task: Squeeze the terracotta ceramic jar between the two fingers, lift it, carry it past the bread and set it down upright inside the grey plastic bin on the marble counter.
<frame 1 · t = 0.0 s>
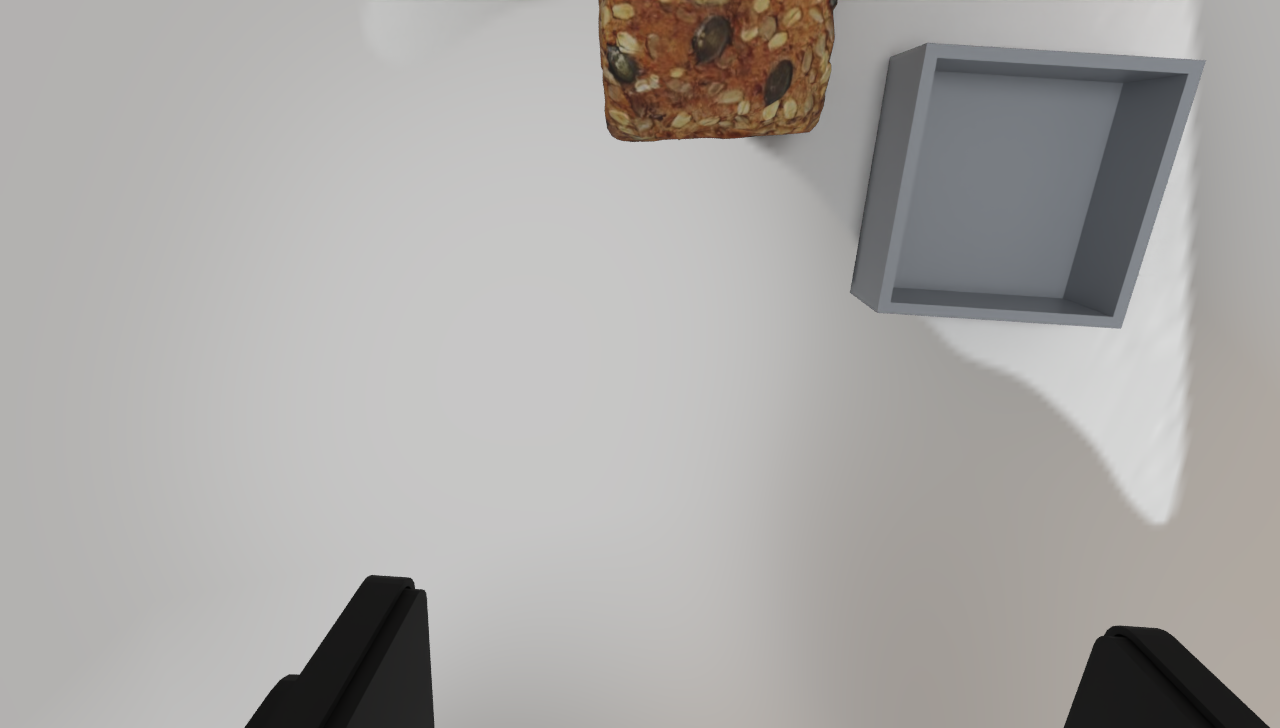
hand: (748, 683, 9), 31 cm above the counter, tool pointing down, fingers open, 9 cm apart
bin: (982, 189, 36), on the counter
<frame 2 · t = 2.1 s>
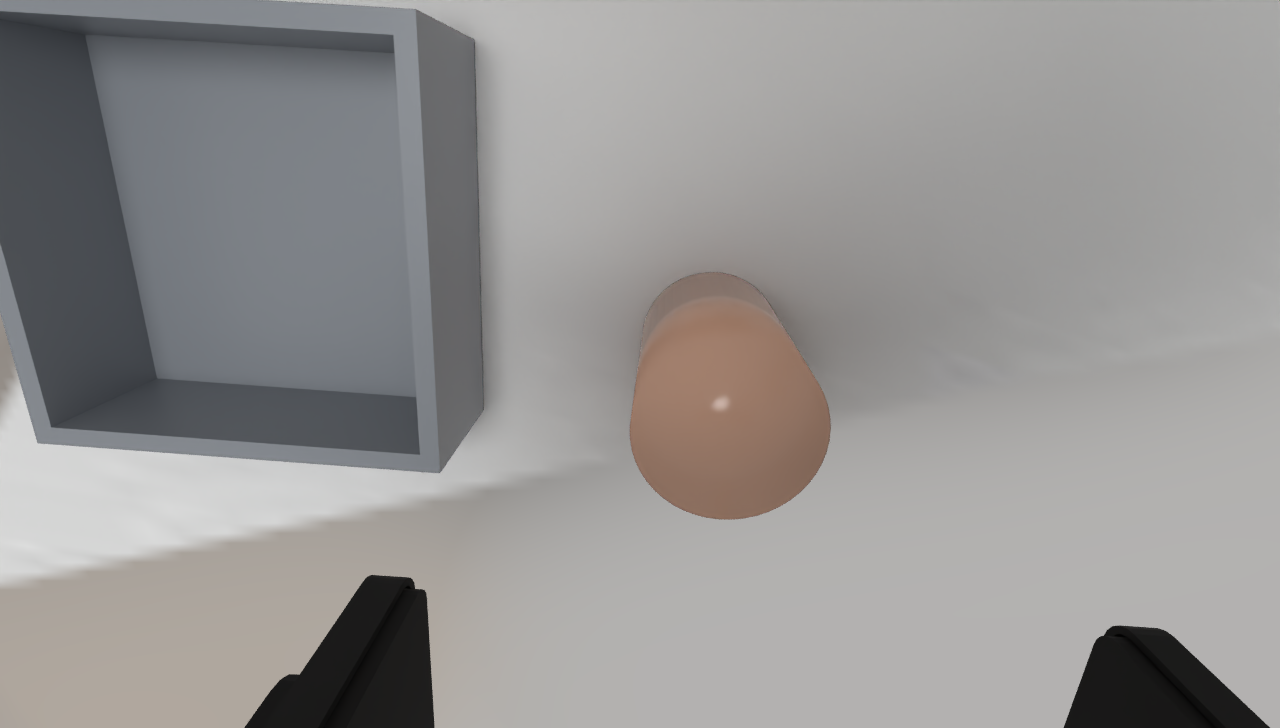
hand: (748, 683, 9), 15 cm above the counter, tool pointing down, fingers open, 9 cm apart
bin: (299, 230, 23), on the counter
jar: (709, 339, 23), on the counter
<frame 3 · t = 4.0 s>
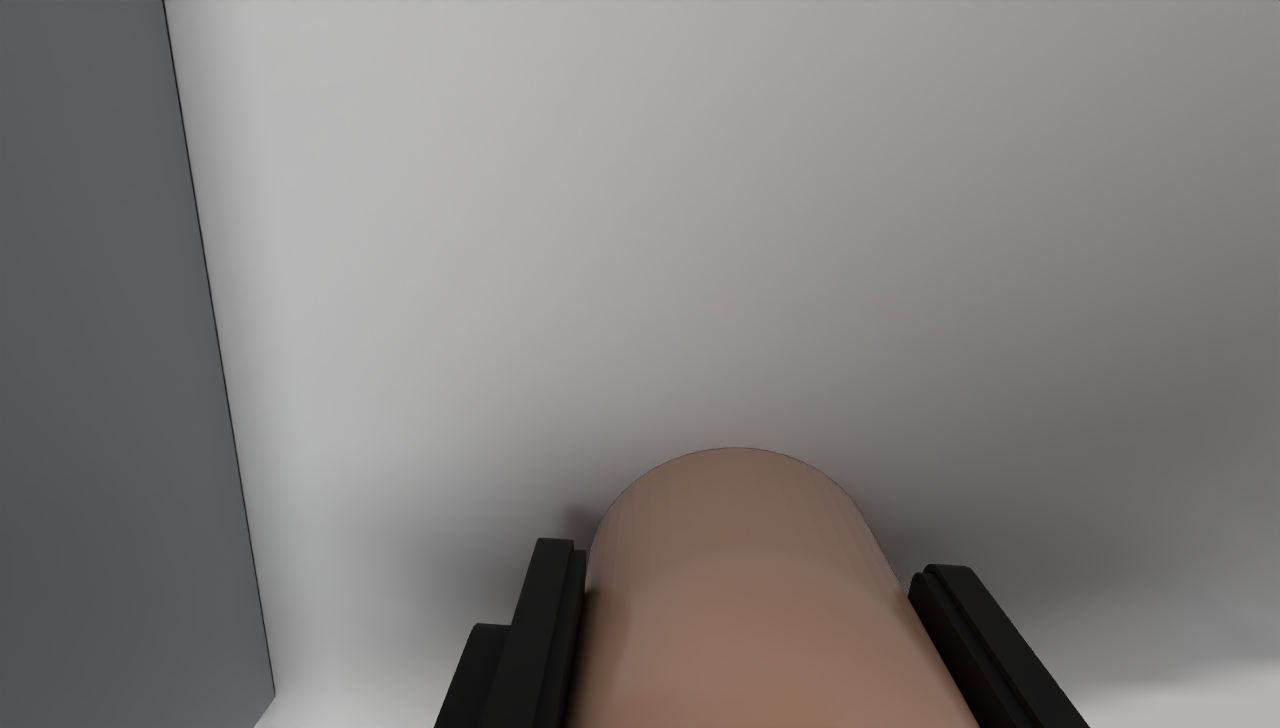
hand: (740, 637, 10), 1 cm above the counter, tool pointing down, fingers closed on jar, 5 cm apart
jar: (730, 576, 11), on the counter, touching gripper
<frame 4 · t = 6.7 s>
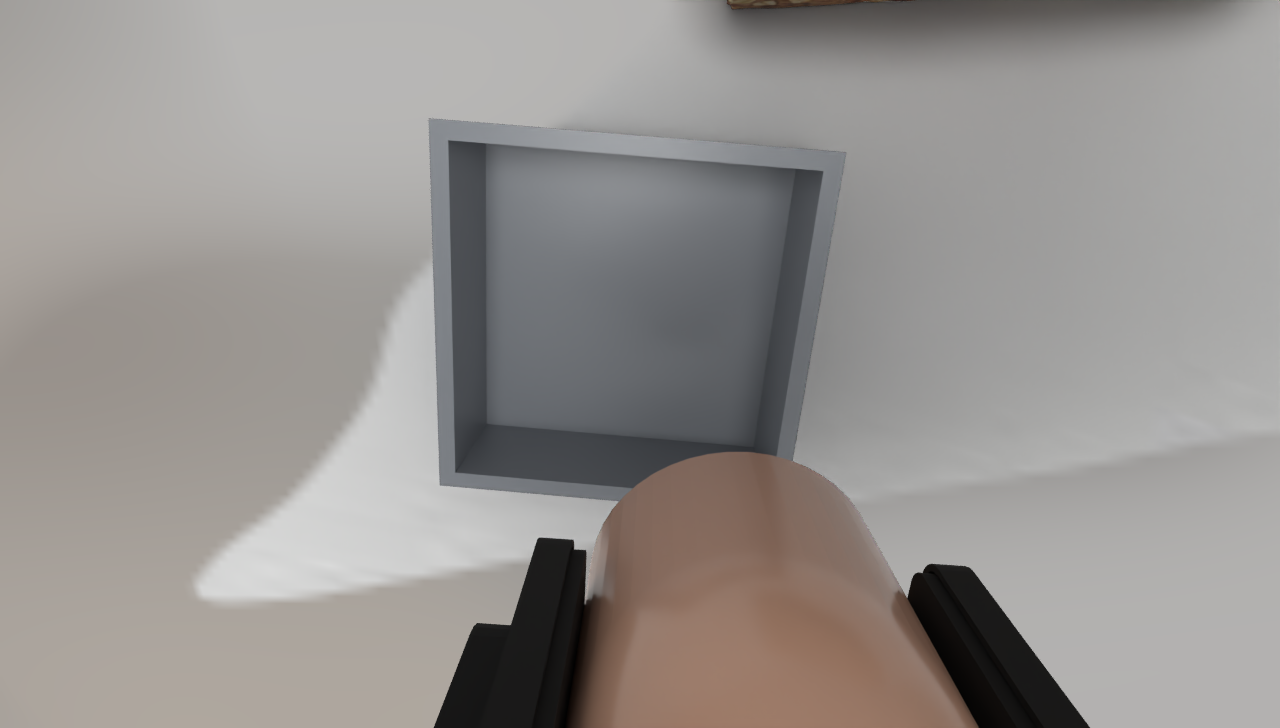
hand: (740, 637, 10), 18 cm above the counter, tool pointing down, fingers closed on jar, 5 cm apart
bin: (630, 301, 27), on the counter
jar: (731, 579, 11), point 16 cm above the counter, touching gripper
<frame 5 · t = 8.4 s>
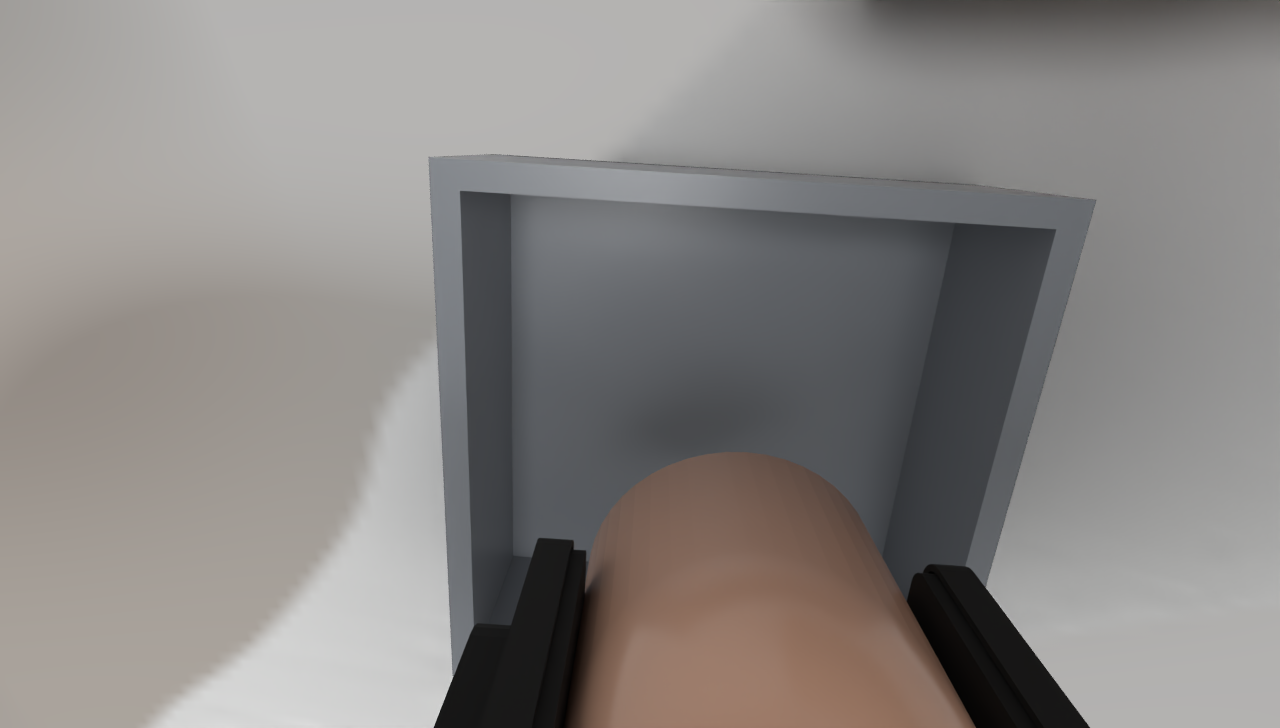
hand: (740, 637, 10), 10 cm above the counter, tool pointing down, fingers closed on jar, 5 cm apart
bin: (710, 393, 19), on the counter
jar: (730, 580, 11), point 9 cm above the counter, touching gripper
when the fingers open (5 cm above the counter, at t = 9.7 s): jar drops 3 cm, resting on bin.
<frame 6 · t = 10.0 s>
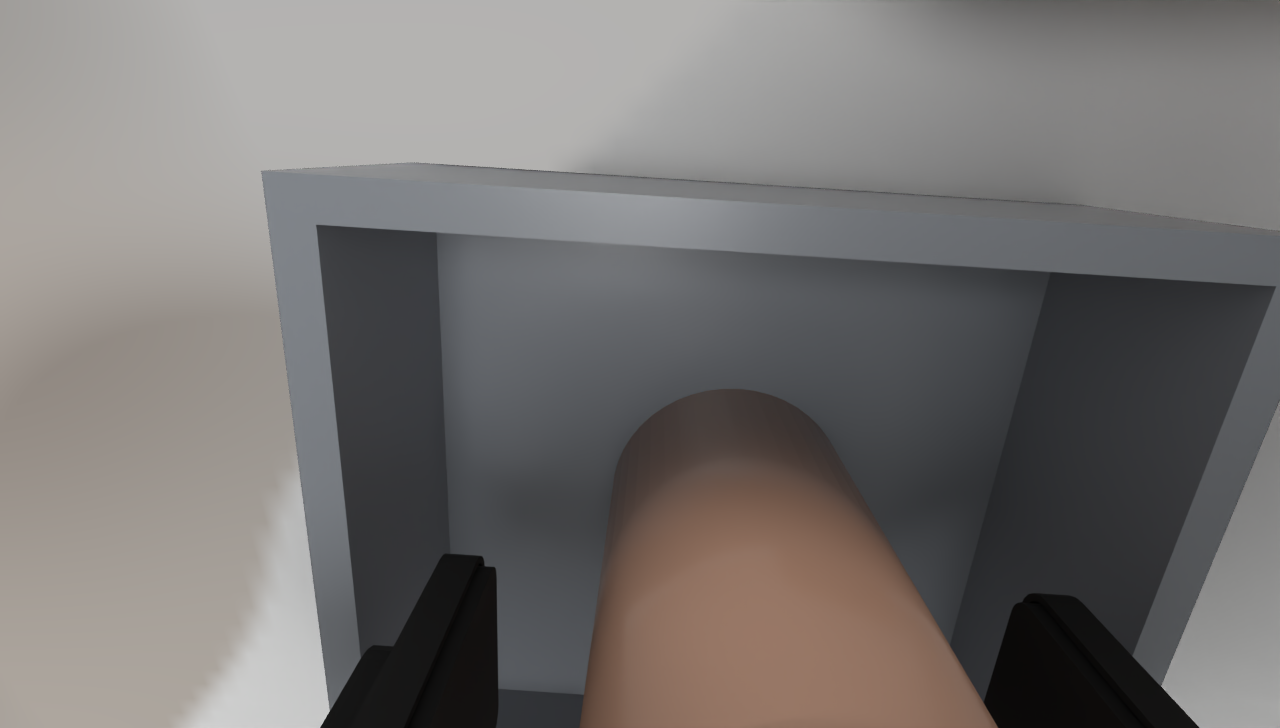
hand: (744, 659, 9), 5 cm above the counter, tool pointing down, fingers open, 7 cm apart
bin: (713, 479, 14), on the counter
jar: (726, 495, 14), point 1 cm above the counter, touching bin
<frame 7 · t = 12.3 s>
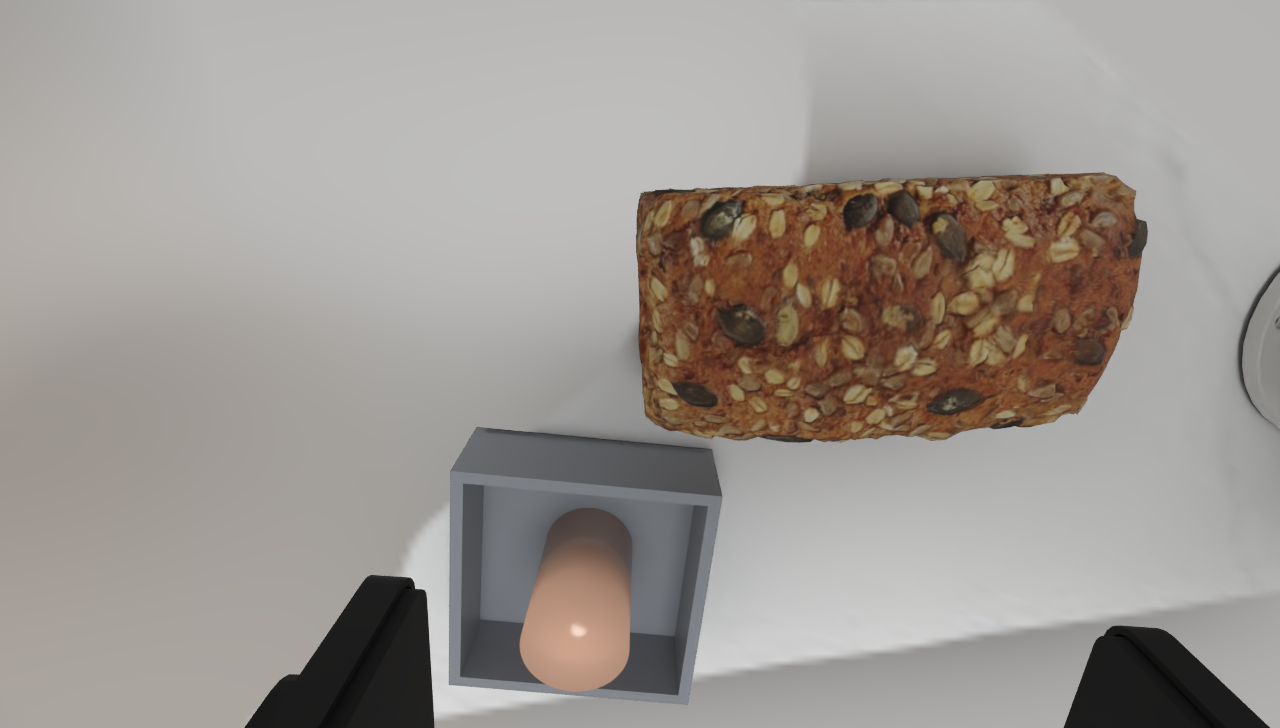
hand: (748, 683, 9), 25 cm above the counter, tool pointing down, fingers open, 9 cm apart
bin: (585, 538, 37), on the counter
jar: (589, 546, 36), point 1 cm above the counter, touching bin
bread: (821, 280, 32), on the counter
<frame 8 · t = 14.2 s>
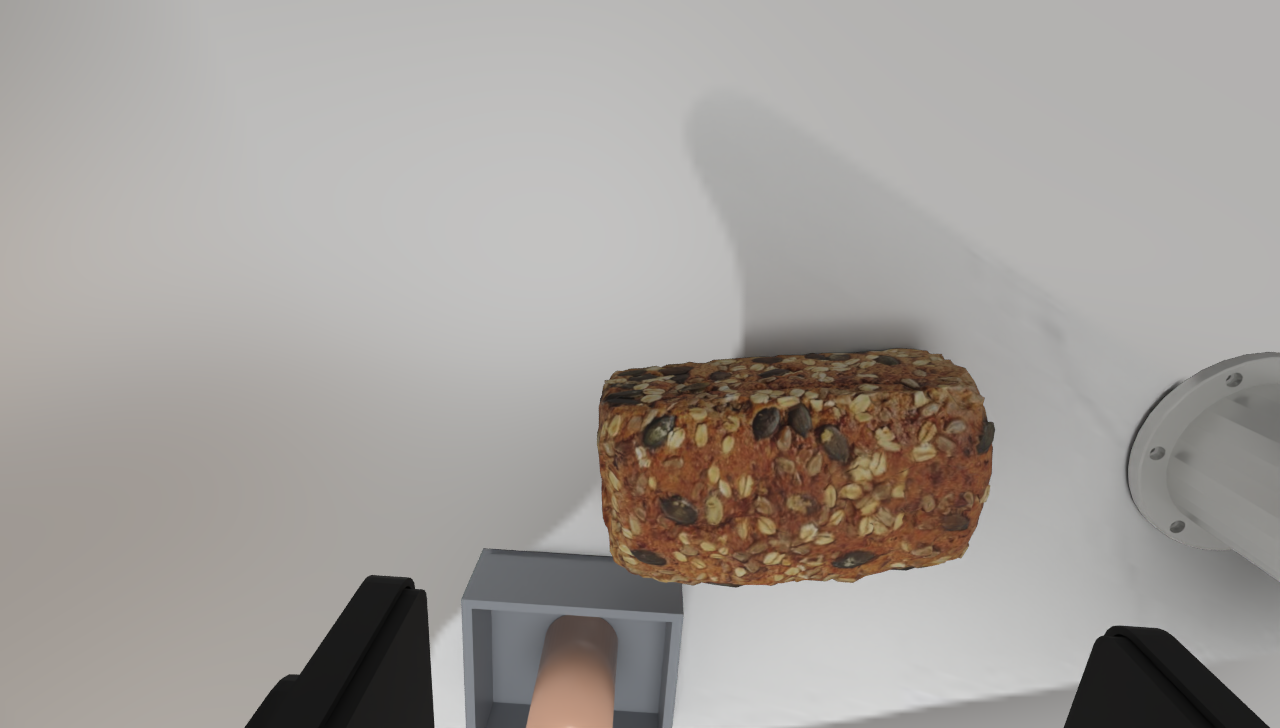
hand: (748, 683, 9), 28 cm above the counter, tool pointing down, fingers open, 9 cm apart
bin: (579, 634, 44), on the counter
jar: (581, 642, 43), point 1 cm above the counter, touching bin
bread: (763, 427, 39), on the counter
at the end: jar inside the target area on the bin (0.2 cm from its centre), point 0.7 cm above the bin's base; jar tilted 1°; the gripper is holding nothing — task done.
